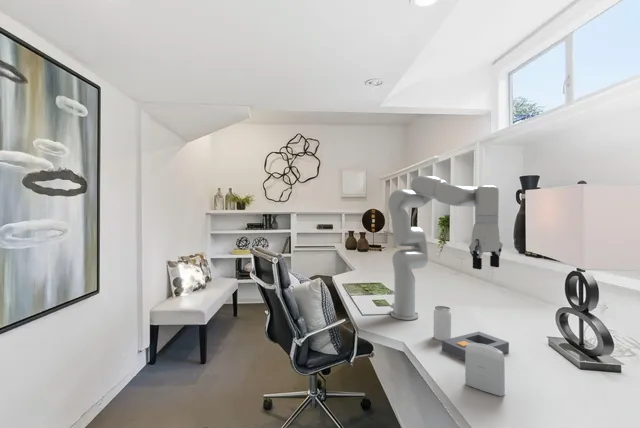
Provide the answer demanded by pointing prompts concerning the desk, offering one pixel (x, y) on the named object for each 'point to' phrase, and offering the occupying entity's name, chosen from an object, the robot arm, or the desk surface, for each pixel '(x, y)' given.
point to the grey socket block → (459, 343)
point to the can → (442, 323)
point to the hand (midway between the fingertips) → (486, 267)
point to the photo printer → (485, 368)
